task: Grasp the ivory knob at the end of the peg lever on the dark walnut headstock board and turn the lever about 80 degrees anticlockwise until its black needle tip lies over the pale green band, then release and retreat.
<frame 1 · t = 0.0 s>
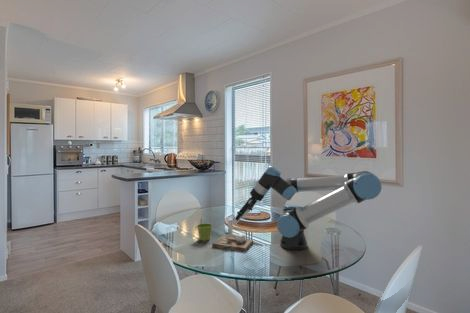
hand: (238, 220, 152), 15 cm above the table, tool tilted 35°, fingers open, 13 cm apart
headstock board: (233, 245, 156), on the table
plant pot: (204, 239, 166), on the table
peg: (234, 229, 160), point 8 cm above the table, hinge at 0.0°
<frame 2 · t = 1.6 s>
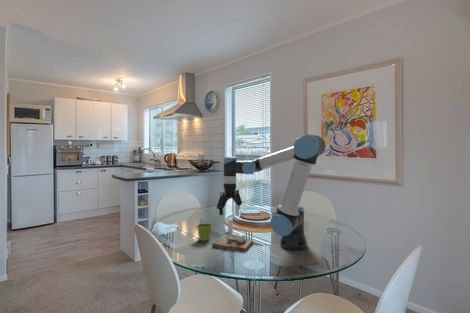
hand: (229, 218, 162), 14 cm above the table, tool pointing down, fingers open, 13 cm apart
nothing on the table moved.
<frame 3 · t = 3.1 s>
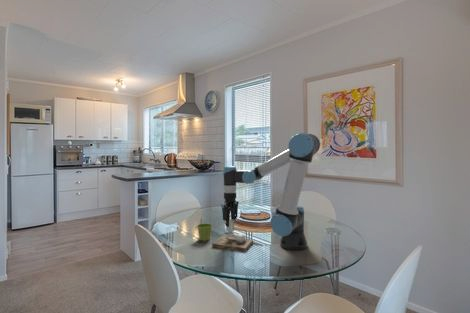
hand: (230, 230, 162), 7 cm above the table, tool pointing down, fingers closed on peg, 3 cm apart
peg: (234, 229, 160), point 8 cm above the table, hinge at 0.1°, touching gripper
everything else where it was.
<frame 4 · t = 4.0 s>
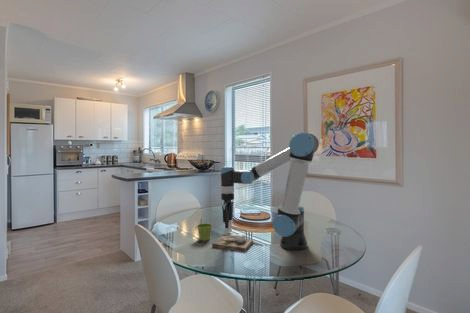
hand: (228, 232, 160), 7 cm above the table, tool pointing down, fingers closed on peg, 3 cm apart
peg: (233, 230, 158), point 8 cm above the table, hinge at 18.0°, touching gripper
everything else where it was.
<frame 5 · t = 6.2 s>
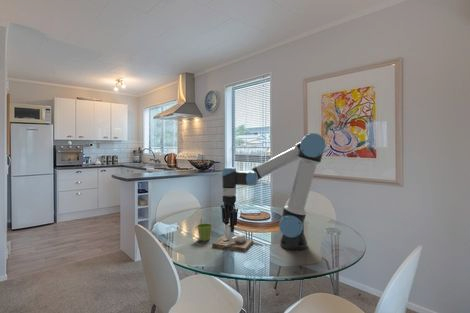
hand: (229, 236, 152), 7 cm above the table, tool pointing down, fingers closed on peg, 3 cm apart
peg: (234, 233, 154), point 8 cm above the table, hinge at 78.0°, touching gripper
everything else where it was.
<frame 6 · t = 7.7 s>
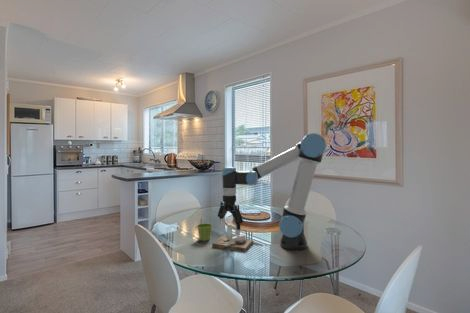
hand: (229, 232, 151), 9 cm above the table, tool pointing down, fingers open, 13 cm apart
peg: (234, 233, 154), point 8 cm above the table, hinge at 79.0°
everything else where it was.
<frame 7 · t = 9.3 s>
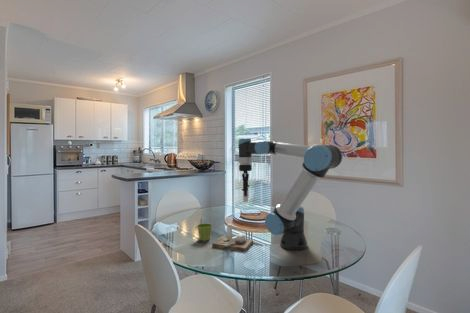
hand: (246, 199, 162), 25 cm above the table, tool pointing down, fingers open, 13 cm apart
nothing on the table moved.
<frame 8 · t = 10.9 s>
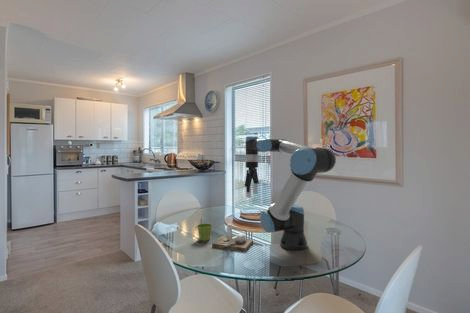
hand: (252, 195, 167), 27 cm above the table, tool pointing down, fingers open, 13 cm apart
nothing on the table moved.
at the end: peg at +79° (first picture: +0°); the gripper is holding nothing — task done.
